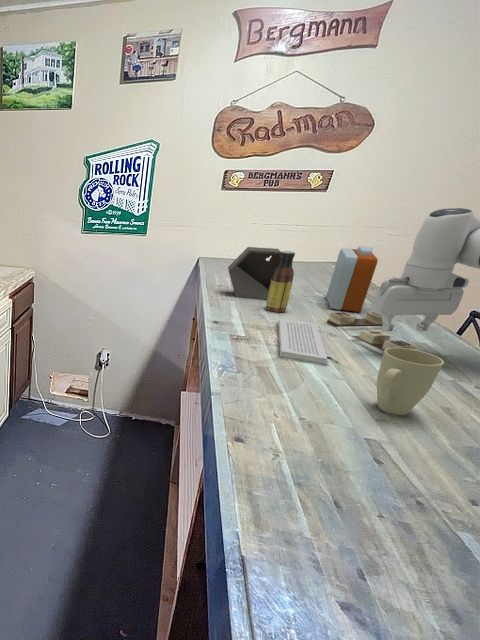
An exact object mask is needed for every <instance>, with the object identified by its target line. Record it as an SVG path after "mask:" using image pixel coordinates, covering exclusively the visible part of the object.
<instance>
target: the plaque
mask: <svg viewBox="0 0 480 640" xmlns="http://www.w3.org/2000/svg"><path fill="white" fill-rule="evenodd" d="M277 324H278V325H277V326H278V342H279V356H280V358H286V359H293V360H299V361H305V362H309V363H310V362H311V363H316V364H324V365H326V364H327V362H328V357H327V353H326V349H325V346H324V343H323V339H322V336H321V333H320V332H321V331H320V329H319V325H318V323H314V322H306V321H299V320H293V319H292V320H291V319H285V318H279V319H278V323H277Z"/></svg>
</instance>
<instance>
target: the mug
mask: <svg viewBox="0 0 480 640" xmlns="http://www.w3.org/2000/svg"><path fill="white" fill-rule="evenodd" d="M444 364H445V361H444V360H443V359H442V358H440V357H439V356H437V355H434V354H432V353H429V352H426V351H423V350H419V349H415V350H414V349H408V348H387V349H385V351H383V355H382V358H381V361H380V366H379V369H378V373H377V377H376V399H377V403H376V404H377V408H378V409H380V410H381V411H382V412H385V413H388V414H391V415H397V416H406V415H408V413H409V412H411V411H412V410H413V409H414V408H415V407H416V405H417V404H418V403H420V401H421V400H422V399H424V398H425V396H426V395H427V394H428V393H429V391H430V389H431V388H432V386H433V384H434V383H435V381H436V379H437V377H438V375H439V373H440V372H441V370H442V367H443V366H444Z"/></svg>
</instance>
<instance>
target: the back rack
mask: <svg viewBox="0 0 480 640" xmlns="http://www.w3.org/2000/svg"><path fill="white" fill-rule="evenodd" d="M381 316H382V315H379V314H376V313H374V312H372V311H367V312H366V314H365V318H357V316H354V315H352V314H350V313H347V312H346V311H345V312H330V314H329V317H328V319H327V320H326V323H328V324H330V325H332V326H334V327H337V328H341V327H343V328H345V327H349V328H350V327H353V328H354V327H382V326H383V321H382V317H381ZM392 321H393V319H391V322H392Z"/></svg>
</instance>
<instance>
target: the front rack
mask: <svg viewBox="0 0 480 640" xmlns="http://www.w3.org/2000/svg"><path fill="white" fill-rule="evenodd" d="M351 337H353V338H354V339H357V340H358V341H360V342H363V343H365V344H368V345H370V346H371V347H374V348H376V349H378V350H380V351H381V352H384V351H385V350H384V349H382V347H383V344H384V341H385V340H390V337H391V335H390V334H388V333H385V332H383V331H380V330H378V329H361V330H360V332H359V335H352V336H351Z"/></svg>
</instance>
